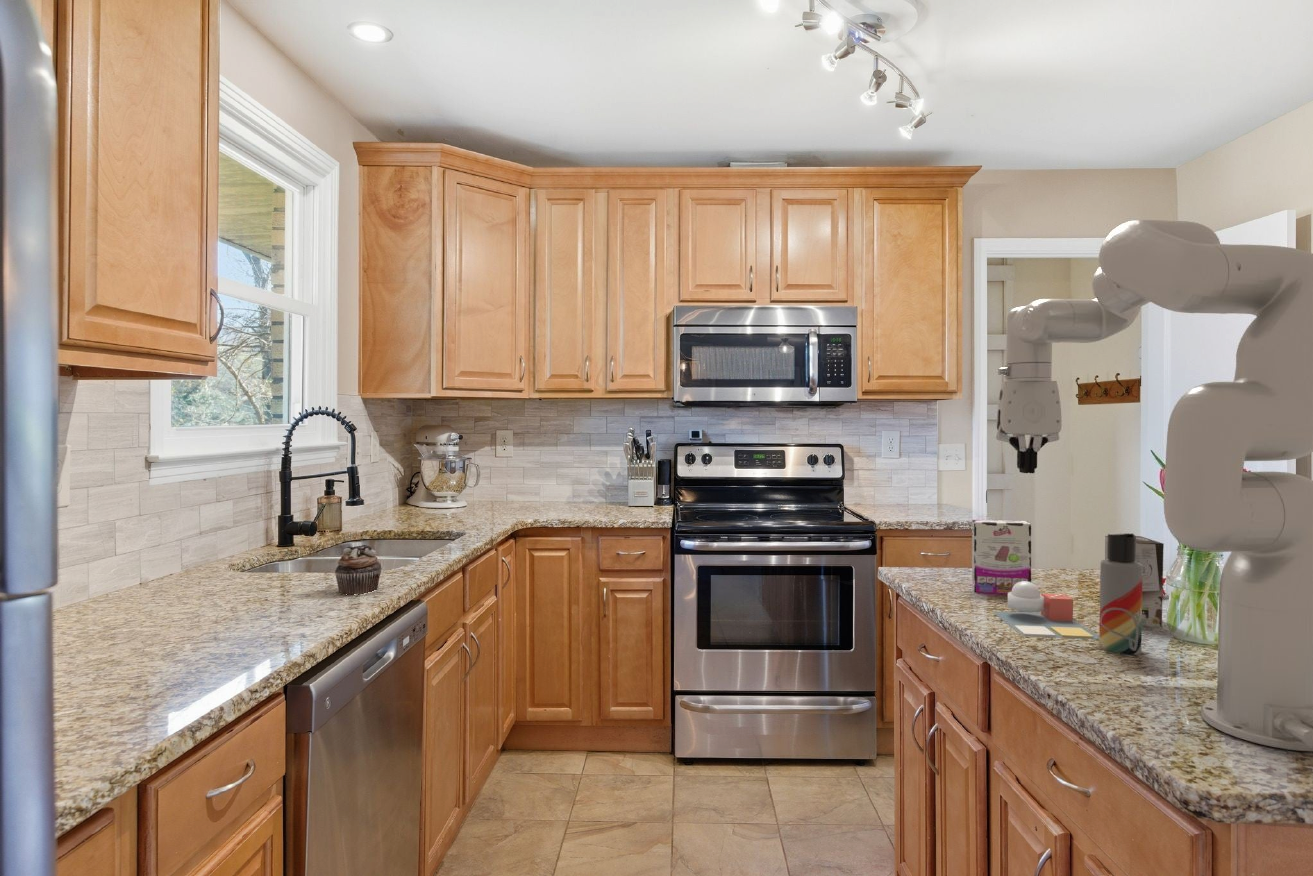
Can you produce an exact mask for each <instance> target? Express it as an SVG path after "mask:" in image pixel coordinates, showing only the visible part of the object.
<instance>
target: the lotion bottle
mask: <svg viewBox="0 0 1313 876" xmlns="http://www.w3.org/2000/svg"><path fill="white" fill-rule="evenodd" d="M1107 536H1108V551H1107V559H1108V560H1105V559H1103V560H1101V561H1100V567H1099V570H1100V572H1099V575H1100V576H1099V577H1100V578H1099V619H1098V620H1099V627H1098V628H1099V629H1098V630H1099V631H1098V632H1099V633H1098V635H1099V639H1098V647H1099V649H1102V650H1104V651H1106V652H1108V653H1113V654H1119V655H1123V656H1124V655H1126V656H1127V655H1129V656H1136V655H1140V654H1141V653H1142V635H1143V634H1142V631H1143V630H1142V627H1143V626H1142V582H1143V567H1142V564H1140V563H1137V562H1135V561H1136V536H1137V535H1136V534H1134V533H1127V532H1126V533H1125V532H1124V533H1115V534H1113V533H1112V534H1110V533H1109V534H1107Z"/></svg>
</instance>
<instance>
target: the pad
mask: <svg viewBox="0 0 1313 876" xmlns="http://www.w3.org/2000/svg"><path fill="white" fill-rule="evenodd" d="M1050 629H1052V630H1053V631H1055V632H1056V633H1057V634H1059V635H1060V636H1062V637H1078V638H1094V636H1093V635H1091V634H1089V633H1088V632H1086V631H1085V630H1083V629H1082V628H1072V627H1050Z"/></svg>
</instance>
